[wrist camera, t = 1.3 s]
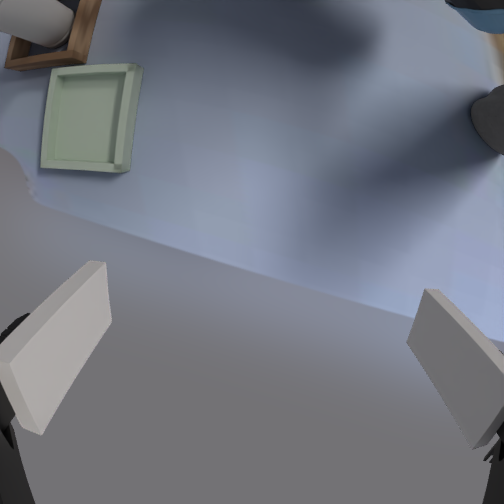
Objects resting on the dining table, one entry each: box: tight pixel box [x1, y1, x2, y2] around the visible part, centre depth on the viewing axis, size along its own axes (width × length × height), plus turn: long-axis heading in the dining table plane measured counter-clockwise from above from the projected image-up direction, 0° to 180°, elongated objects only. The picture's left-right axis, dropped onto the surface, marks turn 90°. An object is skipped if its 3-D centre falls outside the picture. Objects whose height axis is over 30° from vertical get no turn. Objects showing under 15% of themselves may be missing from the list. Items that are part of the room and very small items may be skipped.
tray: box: [40, 63, 144, 173], centre depth 33 cm, size 13×12×3 cm
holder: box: [4, 0, 102, 71], centre depth 28 cm, size 12×12×4 cm
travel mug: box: [0, 0, 76, 49], centre depth 21 cm, size 6×7×20 cm
